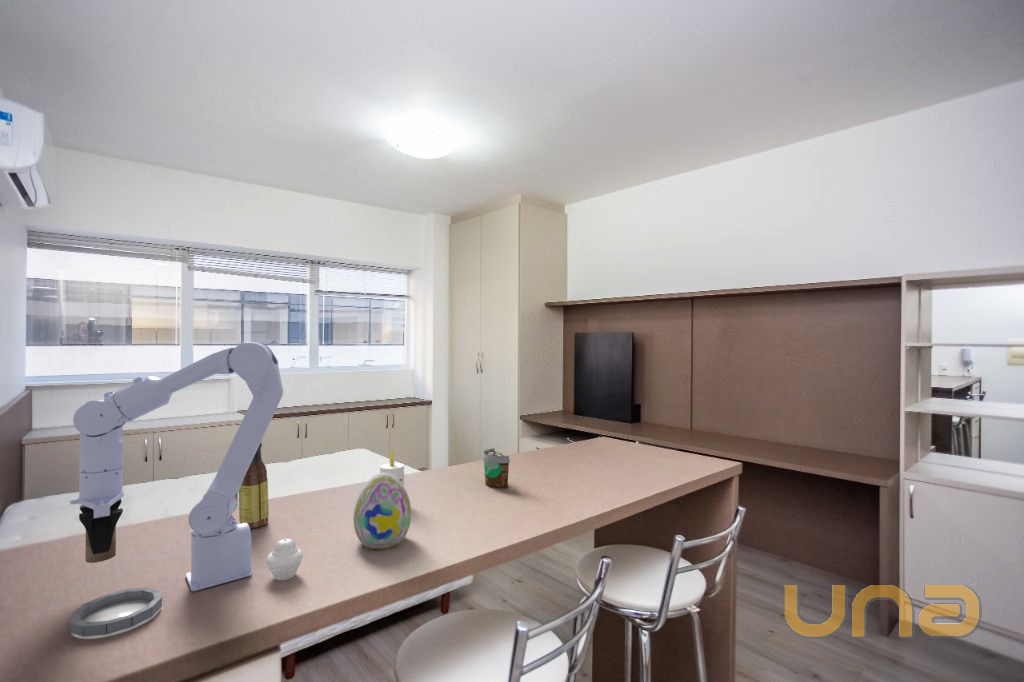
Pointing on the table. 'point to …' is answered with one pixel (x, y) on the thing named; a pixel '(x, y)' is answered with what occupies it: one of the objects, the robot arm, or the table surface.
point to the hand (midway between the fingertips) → (100, 548)
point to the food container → (495, 469)
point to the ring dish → (115, 613)
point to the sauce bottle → (254, 494)
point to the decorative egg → (382, 512)
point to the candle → (393, 468)
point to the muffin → (284, 559)
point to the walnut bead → (101, 556)
